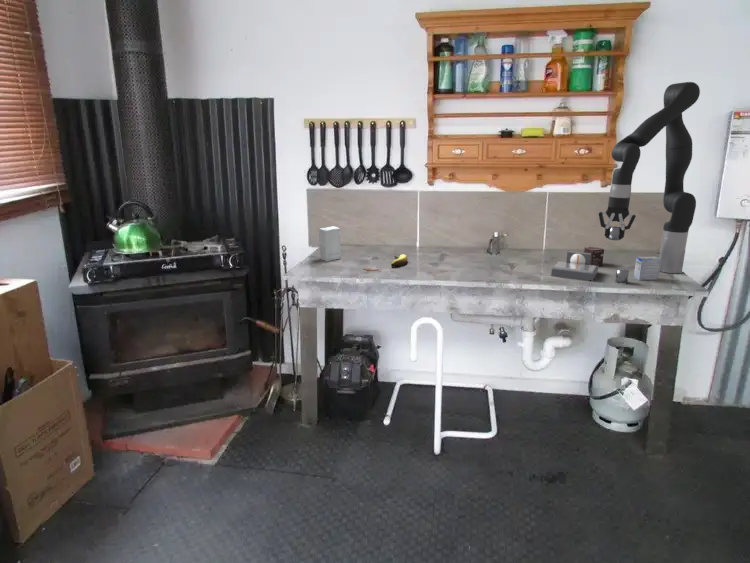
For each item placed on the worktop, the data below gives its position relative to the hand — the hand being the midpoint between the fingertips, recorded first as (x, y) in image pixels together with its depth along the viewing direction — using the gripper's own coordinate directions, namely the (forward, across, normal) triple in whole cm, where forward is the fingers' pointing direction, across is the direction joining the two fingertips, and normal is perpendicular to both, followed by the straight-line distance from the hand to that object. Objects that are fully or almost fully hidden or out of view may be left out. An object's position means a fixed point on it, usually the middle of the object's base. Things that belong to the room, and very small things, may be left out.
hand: (613, 238), depth 211 cm
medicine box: (+16, -14, -3) cm, 21 cm away
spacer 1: (0, 0, 0) cm, 0 cm away
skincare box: (+18, +116, +31) cm, 122 cm away
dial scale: (+16, +13, +4) cm, 21 cm away
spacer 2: (+16, -6, +7) cm, 18 cm away
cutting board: (+18, +86, +22) cm, 90 cm away
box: (+16, +9, -17) cm, 25 cm away
